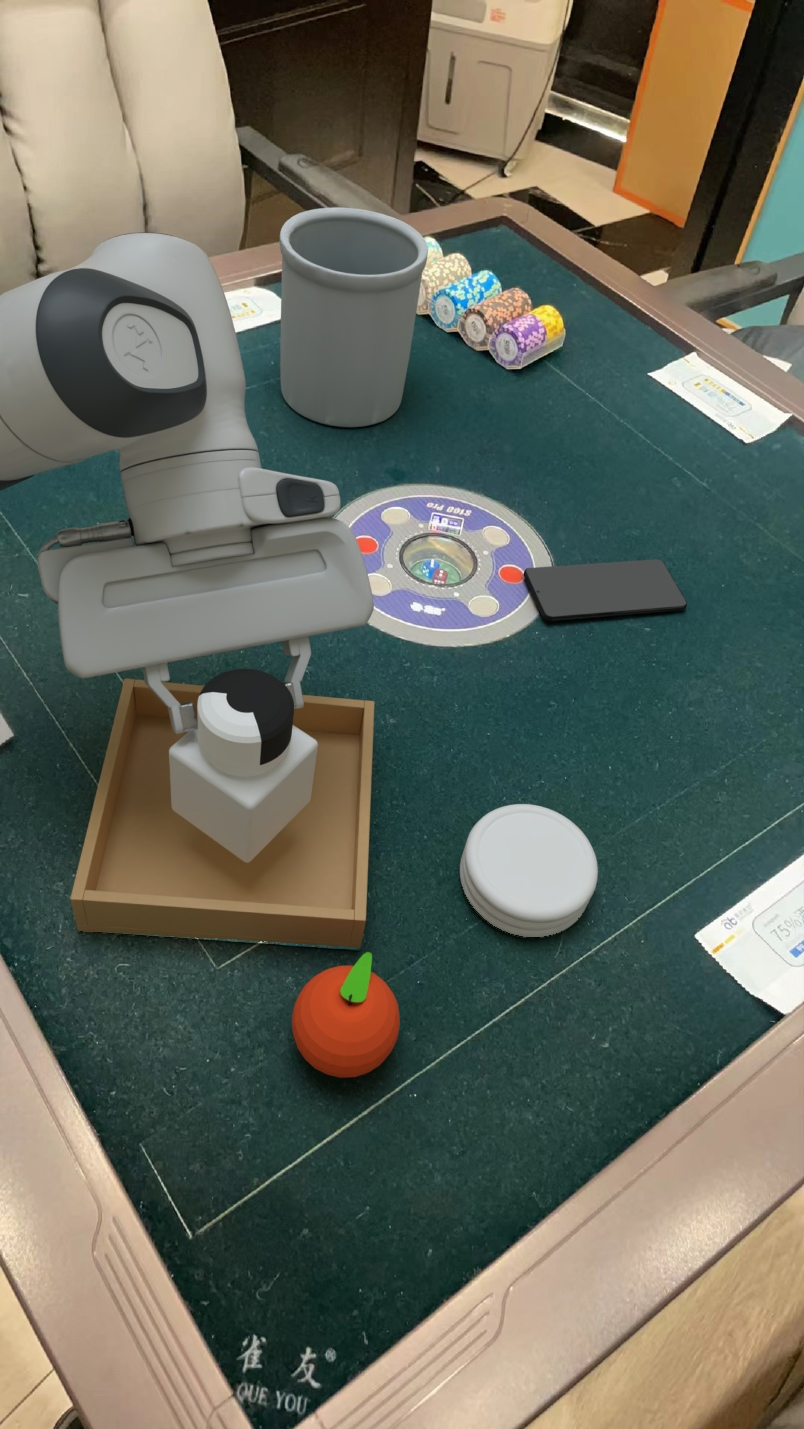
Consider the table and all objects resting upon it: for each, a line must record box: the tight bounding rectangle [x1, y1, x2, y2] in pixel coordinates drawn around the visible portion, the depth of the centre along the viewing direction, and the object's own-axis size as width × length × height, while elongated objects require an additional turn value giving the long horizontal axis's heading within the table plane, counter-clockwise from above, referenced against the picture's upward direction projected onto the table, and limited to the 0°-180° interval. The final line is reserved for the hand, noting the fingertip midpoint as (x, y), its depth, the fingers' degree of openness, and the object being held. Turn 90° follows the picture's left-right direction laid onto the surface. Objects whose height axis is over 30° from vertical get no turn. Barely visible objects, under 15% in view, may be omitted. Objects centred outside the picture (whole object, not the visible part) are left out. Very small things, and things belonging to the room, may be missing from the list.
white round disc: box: [459, 803, 599, 938], centre depth 78 cm, size 10×10×4 cm
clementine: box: [291, 951, 401, 1079], centre depth 67 cm, size 8×7×7 cm
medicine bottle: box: [169, 668, 318, 863], centre depth 70 cm, size 7×7×12 cm
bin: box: [69, 677, 375, 949], centre depth 78 cm, size 20×20×4 cm
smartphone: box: [522, 558, 688, 622], centre depth 101 cm, size 7×1×15 cm
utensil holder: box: [279, 206, 429, 428], centre depth 111 cm, size 15×15×18 cm
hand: (239, 720), depth 69 cm, fingers closed on medicine bottle, 6 cm apart
